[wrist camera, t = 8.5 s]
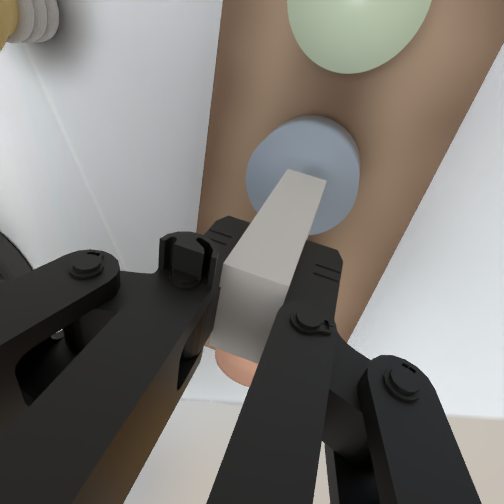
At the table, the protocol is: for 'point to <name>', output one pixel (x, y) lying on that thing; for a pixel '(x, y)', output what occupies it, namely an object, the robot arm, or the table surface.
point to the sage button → (354, 30)
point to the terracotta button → (236, 367)
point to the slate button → (308, 165)
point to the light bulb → (28, 20)
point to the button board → (347, 122)
